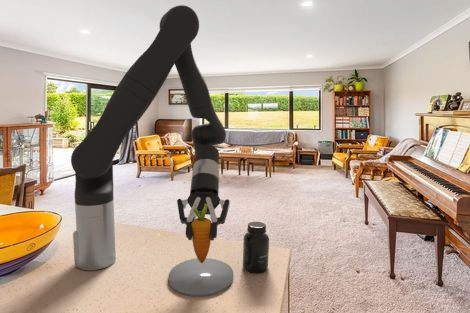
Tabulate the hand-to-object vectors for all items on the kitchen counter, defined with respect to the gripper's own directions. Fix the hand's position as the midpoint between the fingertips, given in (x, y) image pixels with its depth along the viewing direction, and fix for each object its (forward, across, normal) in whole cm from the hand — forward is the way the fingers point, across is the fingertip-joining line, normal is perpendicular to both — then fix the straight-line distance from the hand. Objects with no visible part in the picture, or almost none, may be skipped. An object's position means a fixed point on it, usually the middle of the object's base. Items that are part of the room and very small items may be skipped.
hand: (201, 238), depth 69 cm
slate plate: (+6, 0, +9) cm, 11 cm away
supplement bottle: (+3, +14, +13) cm, 19 cm away
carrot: (+4, 0, +6) cm, 8 cm away
